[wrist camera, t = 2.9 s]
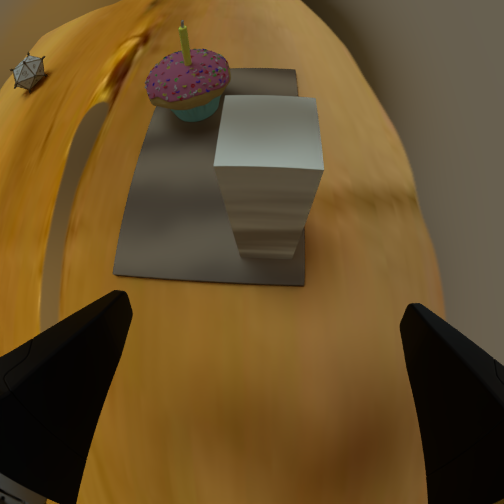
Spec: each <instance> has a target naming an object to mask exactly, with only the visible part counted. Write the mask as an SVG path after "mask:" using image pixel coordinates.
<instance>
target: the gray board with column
mask: <svg viewBox="0 0 504 504" xmlns="http://www.w3.org/2000/svg"><path fill="white" fill-rule="evenodd" d="M230 73H231V81H230V83H229V84H228V85H227V87H226V88H225V90H224V92H223V93H222V94H221V97H220V101H219V106H218V108H217V110H216V111H215V113H214V114H212V115H211V116H210V117H208V118H206V119H204V120H201V121H197V122H186V121H183V120H181V119H179V118H178V117H177V116H176V115H175V114H174V113H173V112H172V111H171V110H170V109H168V108H163V107H159V106H156V108H155V111H154V114H153V116H152V119H151V122H150V125H149V128H148V130H147V133H146V136H145V139H144V142H143V145H142V149H141V152H140V155H139V158H138V162H137V165H136V168H135V172H134V175H133V179H132V183H131V186H130V190H129V194H128V198H127V202H126V207H125V211H124V215H123V220H122V224H121V229H120V234H119V239H118V245H117V250H116V256H115V262H114V268H113V274H114V275H118V276H129V277H141V278H154V279H168V280H182V281H198V282H215V283H234V284H256V285H281V286H304V278H305V236H304V225H305V222H306V220H307V217H308V214H309V211H310V209H311V206H312V203H313V200H314V197H315V194H316V191H317V189H318V186H319V183H320V180H321V177H322V174H323V171H324V166H323V155H322V146H321V137H320V128H319V121H318V113H317V106H316V99H315V98H307V97H298V92H297V81H296V71H295V70H294V69H274V68H233V69H230Z"/></svg>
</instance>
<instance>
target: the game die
mask: <svg viewBox="0 0 504 504" xmlns="http://www.w3.org/2000/svg"><path fill="white" fill-rule="evenodd" d="M27 55H28V56H27V57H26V58H25V59H24V60H23V61H22V62H21V63H20V64H19V65H17V67H16V68H15V69H10V71H13V74H14V79H15V85H14V86H15V87H14V89H15V88H16V87H20V88H24V89H27V90H29V93H30V92H31V90H30V89H31V88H32V87H33V86H34V85H35V84H36V83H37V82H38V81H39V80H40V79H41V78H42V77H43V76H48V75H47V74H45V73H44V66H43V59H44V58H45V56H43V57H42V58H38V57H34V56H30V55H29V52H28V54H27Z"/></svg>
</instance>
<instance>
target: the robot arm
mask: <svg viewBox="0 0 504 504" xmlns="http://www.w3.org/2000/svg"><path fill="white" fill-rule="evenodd" d="M132 316H133V312H132V308H131V305H130V301H129V298H128V295H127V293H126V292H125V291H120V290H114V291H112V292H110V293H108V294H107V295H105V296H103V297H101V298H100V299H98V300H96V301H94V302H93V303H91V304H89V305H87V306H86V307H84V308H82V309H81V310H79V311H77V312H75V313H74V314H72V315H70V316H69V317H67V318H65V319H64V320H62V321H60V322H59V323H57V324H55V325H54V326H52V327H51V328H49V329H47V330H46V331H44V332H42V333H40V334H39V335H37V336H36V337H34V338H33V339H31V340H29V341H27V342H26V343H24V344H23V345H21V346H19V347H18V348H16V349H14V350H13V351H11V352H9V353H7V354H5V355H3V356H2V357H0V504H47V503H46V501H47V499H50V500H52V501H54V502H56V503H59V504H76V502H77V497H78V493H79V488H80V484H81V480H82V476H83V472H84V468H85V464H86V460H87V456H88V453H89V449H90V446H91V442H92V439H93V435H94V432H95V429H96V426H97V423H98V419H99V416H100V413H101V410H102V407H103V404H104V401H105V399H106V396H107V393H108V390H109V387H110V385H111V382H112V379H113V376H114V374H115V371H116V368H117V366H118V363H119V361H120V358H121V355H122V352H123V348H124V345H125V341H126V337H127V334H128V330H129V327H130V324H131V320H132ZM400 333H401V338H402V344H403V350H404V356H405V362H406V368H407V372H408V376H409V380H410V385H411V389H412V393H413V398H414V402H415V407H416V412H417V417H418V422H419V428H420V433H421V440H422V446H423V453H424V461H425V469H426V476H427V477H426V481H427V494H428V504H504V366H503V365H502V364H500V363H499V362H498V361H497V360H495V359H493V357H491V356H490V355H489V354H488V353H487V352H485V351H484V350H483V349H481V348H480V347H479V346H477V345H476V344H475V343H474V342H472V341H471V340H470V339H468V338H467V337H466V336H464V335H463V334H462V333H461V332H459V331H458V330H457V329H455V328H453V327H452V326H451V325H450V324H448V323H447V322H446V321H444V320H443V319H442V318H440V317H439V316H437V315H436V314H435V313H433V312H432V311H430V310H429V309H428V308H426V307H425V306H423V305H422V304H420V303H411V304H409V305H408V306H407V308H406V310H405V313H404V315H403V318H402V320H401V322H400Z"/></svg>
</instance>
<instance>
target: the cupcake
mask: <svg viewBox="0 0 504 504" xmlns="http://www.w3.org/2000/svg"><path fill="white" fill-rule="evenodd" d="M179 35H180V41H181V47H182V51H178V52H174V53H173V54H170V55H168V56H167V57H164V58H163V60H162V61H161V62H159V63H158V64H156V66H155V67H154V68H153V69H152V71H150V74H149V76H148V77H147V79H146V82H145V84H146V86H145V88H146V89H147V94H148V96H149V99H150V101H151V103H152V104H153V105H154V106H159V107H163V108H168V109H170V110H171V111H172V112H173V113H174V114H175V115H176V116H177V117H178V118H179V119H181V120H183V121H186V122H197V121H201V120H204V119H206V118H208V117H210V116H211V115H212V114H214V113H215V111H216V110H217V108H218V106H219V101H220V97H221V94H222V93H223V92H224V90H225V88H226V87H227V85H228V84H229V83H230V81H231V73H230V68H229V65H228V62H227V61H226V59H225V58H224V57H223V56H221V55H220V54H217V53H215V52H212V51H208V50H207V49H203V50H201V49H193V50H190V48H189V41H188V33H187V27H186V26H184V23H183V20H182V21H181V27H179Z"/></svg>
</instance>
